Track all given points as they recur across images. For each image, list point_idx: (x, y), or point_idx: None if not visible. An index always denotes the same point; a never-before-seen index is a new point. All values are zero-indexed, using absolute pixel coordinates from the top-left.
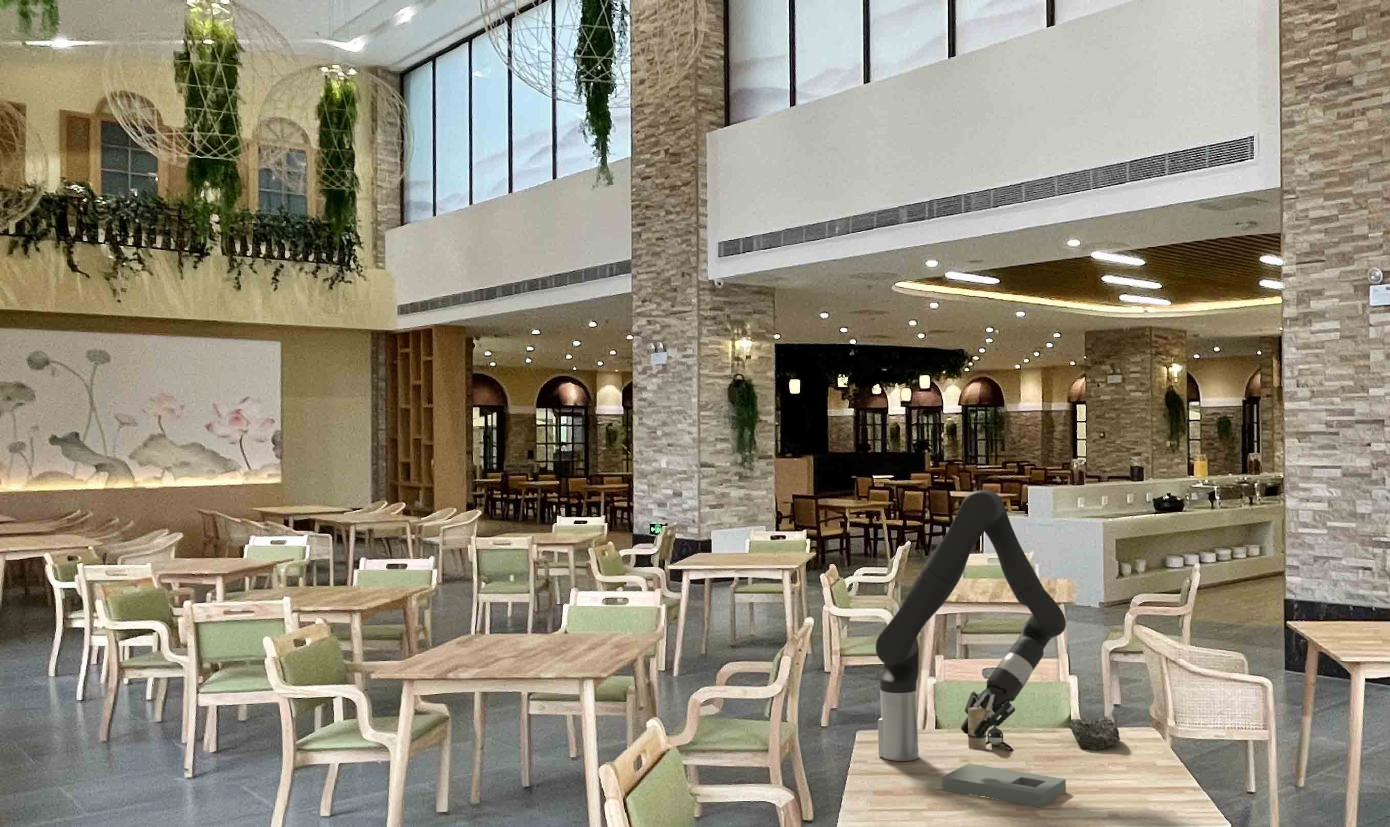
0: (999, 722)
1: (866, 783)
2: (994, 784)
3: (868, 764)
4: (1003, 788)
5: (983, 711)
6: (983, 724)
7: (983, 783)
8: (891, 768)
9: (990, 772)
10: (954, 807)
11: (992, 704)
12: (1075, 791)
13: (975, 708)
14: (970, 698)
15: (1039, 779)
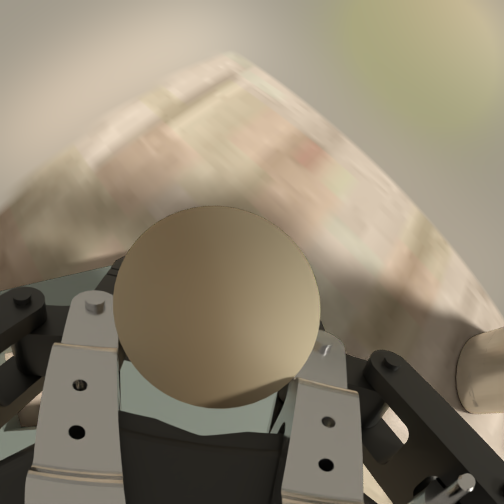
0: (11, 359)
1: (372, 177)
2: (75, 288)
3: (467, 281)
4: (42, 281)
5: (115, 303)
6: (111, 290)
7: (105, 272)
8: (436, 298)
9: (175, 399)
10: (119, 167)
11: (40, 421)
12: None
13: (259, 324)
14: (476, 448)
15: (23, 437)
